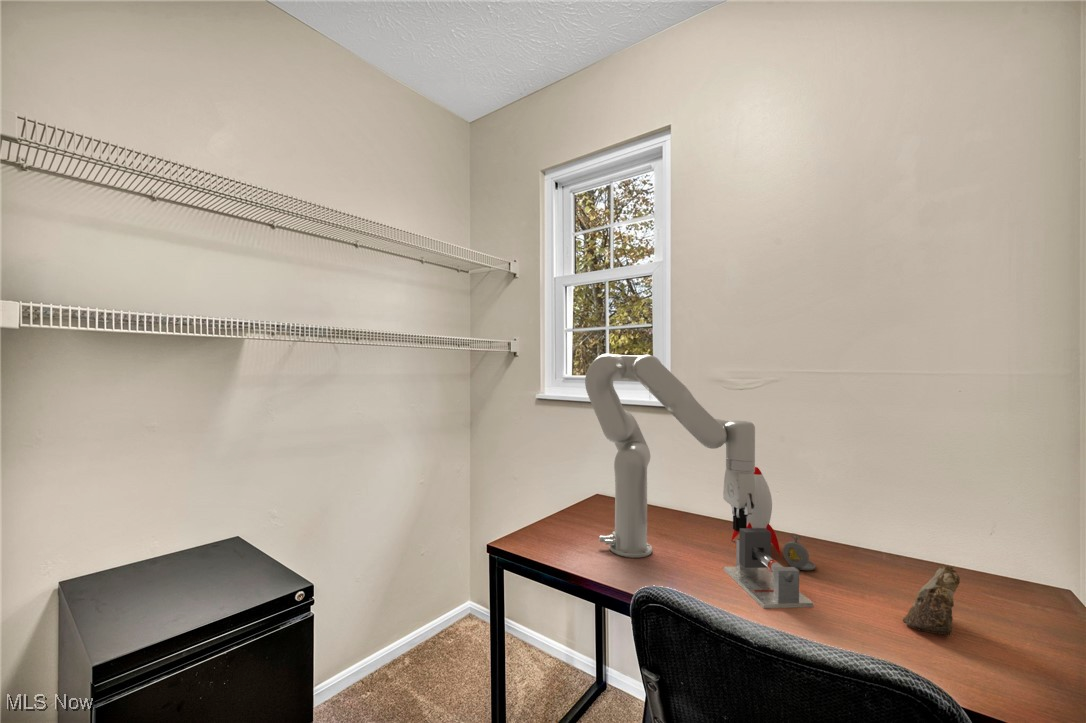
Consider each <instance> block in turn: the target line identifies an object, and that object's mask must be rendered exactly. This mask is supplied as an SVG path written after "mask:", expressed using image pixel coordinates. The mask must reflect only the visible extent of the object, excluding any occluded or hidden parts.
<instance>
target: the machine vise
mask: <svg viewBox="0 0 1086 723" xmlns="http://www.w3.org/2000/svg"><path fill="white" fill-rule="evenodd" d="M752 555H753V556H754V557H755V558H756V559H758V560H759V561H760V562H762V563H763V564H764V565H765V566H767V567H768V568H744V567H743V566H742V565H741V564H740V563H739V538H737V539H736V558H735V559H736V560H735V561H736V562H735V563H736V565H735V566H724V567H723V571H724V572H725V573H726V574H727V575H728V576H729V577H730V578H731V579H732V580H734V582H736V584H738V586H740V587H741V588H742V589H743V590H744V591H745V592H746V593H747V594H748V595H749V596H750V597H751V598H752V599H753V600H754V601H755V602H756V603H757V604H758V605H759V606H761V607H762V608H763V609H788V608H789V609H790V608H791V609H793V608H794V609H795V608H814V602H813V601H812V600H811V599H809V598H808V597H806V595H804V594H803V593H801V591H800V569H797V568H795V567H792V566H783V565H782V564H781V563H780V562H779V561H777V560H775V559H774V558H772V556H771V557H769V556H768V555H767V554H765V553H764V552H763V551H761V550H760V549H758V548H752Z"/></svg>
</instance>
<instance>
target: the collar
mask: <svg viewBox="0 0 1086 723" xmlns="http://www.w3.org/2000/svg"><path fill="white" fill-rule="evenodd" d="M738 536H739V538H738V539H739V563H740V564H741V565H742V566H743V567H744V568H768V567H767V566H765V565H764V564H763V563H762V562H760V561H759V560H758V559H756V558H755V557H754V556H753V555H752V548H758V549H760V550H761V551H763V552H764V553H765V554H767V555H768V556H769V557H771V558H772V543H771V532H770V531H769V530H767V529H765V528H740V533H739V534H738Z"/></svg>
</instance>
